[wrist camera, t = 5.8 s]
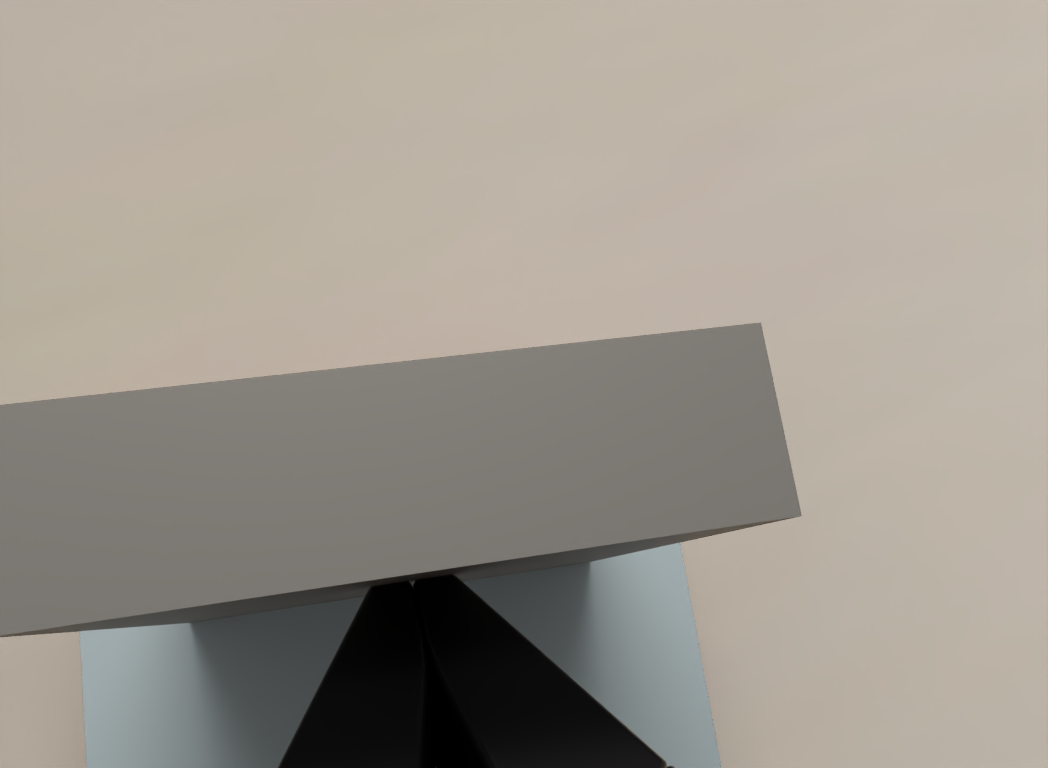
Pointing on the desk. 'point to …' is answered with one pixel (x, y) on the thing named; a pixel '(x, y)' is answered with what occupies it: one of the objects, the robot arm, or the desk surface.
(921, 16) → the desk surface
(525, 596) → the lid
